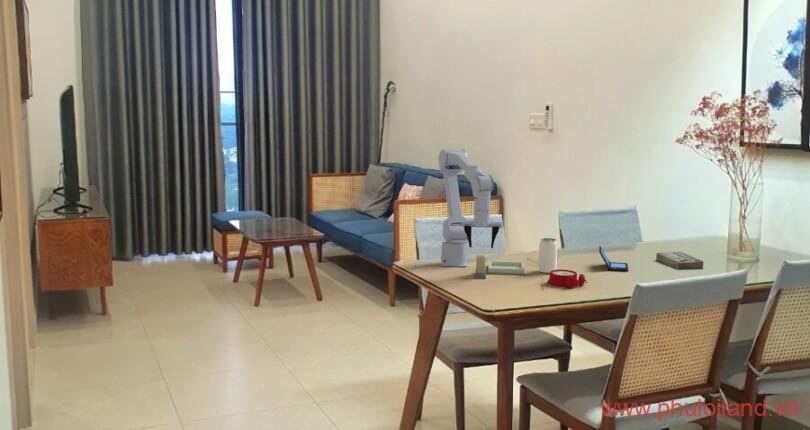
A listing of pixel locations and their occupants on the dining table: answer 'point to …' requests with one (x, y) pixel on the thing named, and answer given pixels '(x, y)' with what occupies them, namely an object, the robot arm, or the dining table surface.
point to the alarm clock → (565, 278)
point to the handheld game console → (613, 263)
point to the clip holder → (480, 274)
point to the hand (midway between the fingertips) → (481, 247)
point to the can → (547, 255)
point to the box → (679, 260)
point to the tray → (506, 267)
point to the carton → (480, 263)
